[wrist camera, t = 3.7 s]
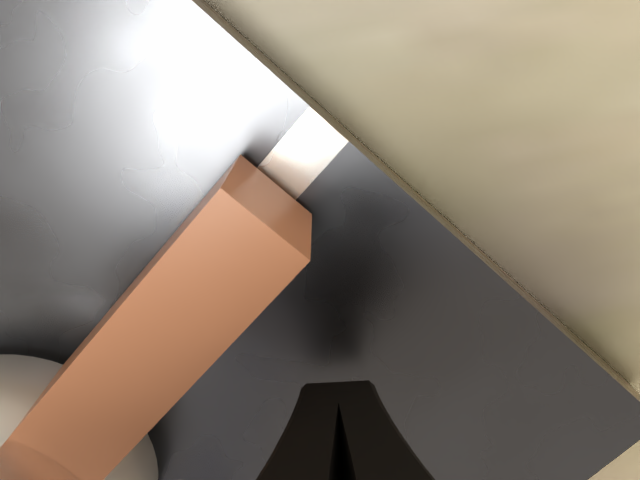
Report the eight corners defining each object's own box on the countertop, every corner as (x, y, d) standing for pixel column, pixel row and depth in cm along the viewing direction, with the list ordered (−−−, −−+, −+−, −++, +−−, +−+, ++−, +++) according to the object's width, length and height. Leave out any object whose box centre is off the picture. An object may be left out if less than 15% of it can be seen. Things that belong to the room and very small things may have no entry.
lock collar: (67, 597, 15) (24, 697, 13) (-150, 475, 14) (-242, 564, 11) (389, 278, 12) (405, 337, 10) (149, 78, 11) (103, 93, 8)
